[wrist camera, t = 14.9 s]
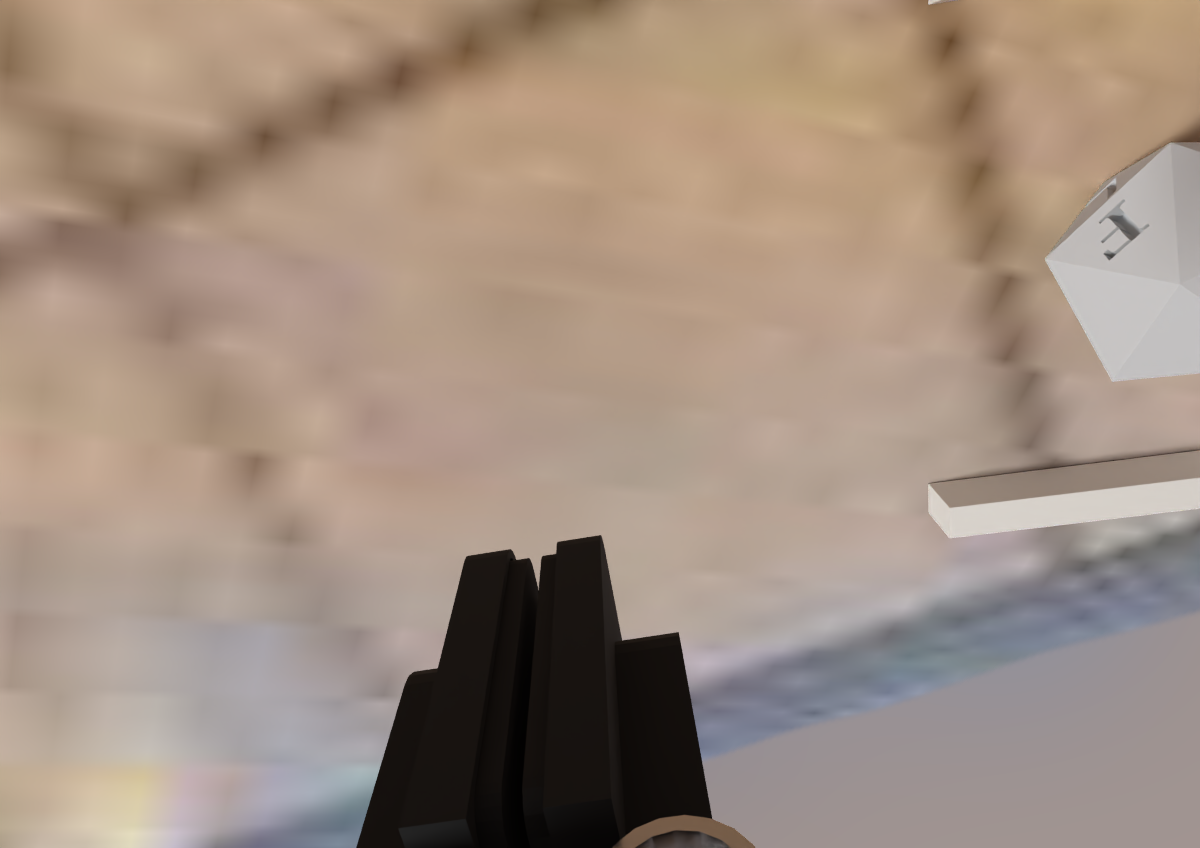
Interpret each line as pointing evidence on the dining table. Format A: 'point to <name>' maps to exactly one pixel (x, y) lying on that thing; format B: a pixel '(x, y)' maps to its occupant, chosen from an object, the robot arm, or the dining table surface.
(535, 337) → the dining table surface
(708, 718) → the dining table surface
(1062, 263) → the die
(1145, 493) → the white stand base
